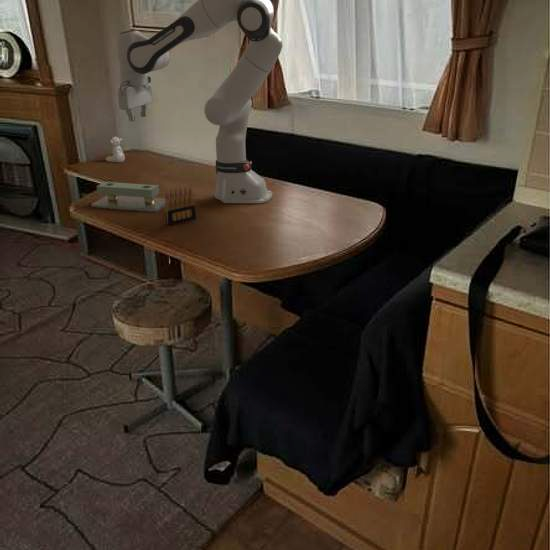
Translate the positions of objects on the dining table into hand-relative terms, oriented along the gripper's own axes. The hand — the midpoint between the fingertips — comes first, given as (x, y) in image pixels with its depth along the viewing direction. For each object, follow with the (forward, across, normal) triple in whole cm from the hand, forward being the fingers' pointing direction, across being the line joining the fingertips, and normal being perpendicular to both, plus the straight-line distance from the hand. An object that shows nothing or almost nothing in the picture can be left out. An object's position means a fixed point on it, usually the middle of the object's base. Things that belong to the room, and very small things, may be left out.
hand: (138, 119), depth 201 cm
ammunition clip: (+29, -26, -25) cm, 47 cm away
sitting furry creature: (+29, +48, +38) cm, 68 cm away
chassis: (+29, -13, 0) cm, 32 cm away
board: (+25, -13, +1) cm, 28 cm away
